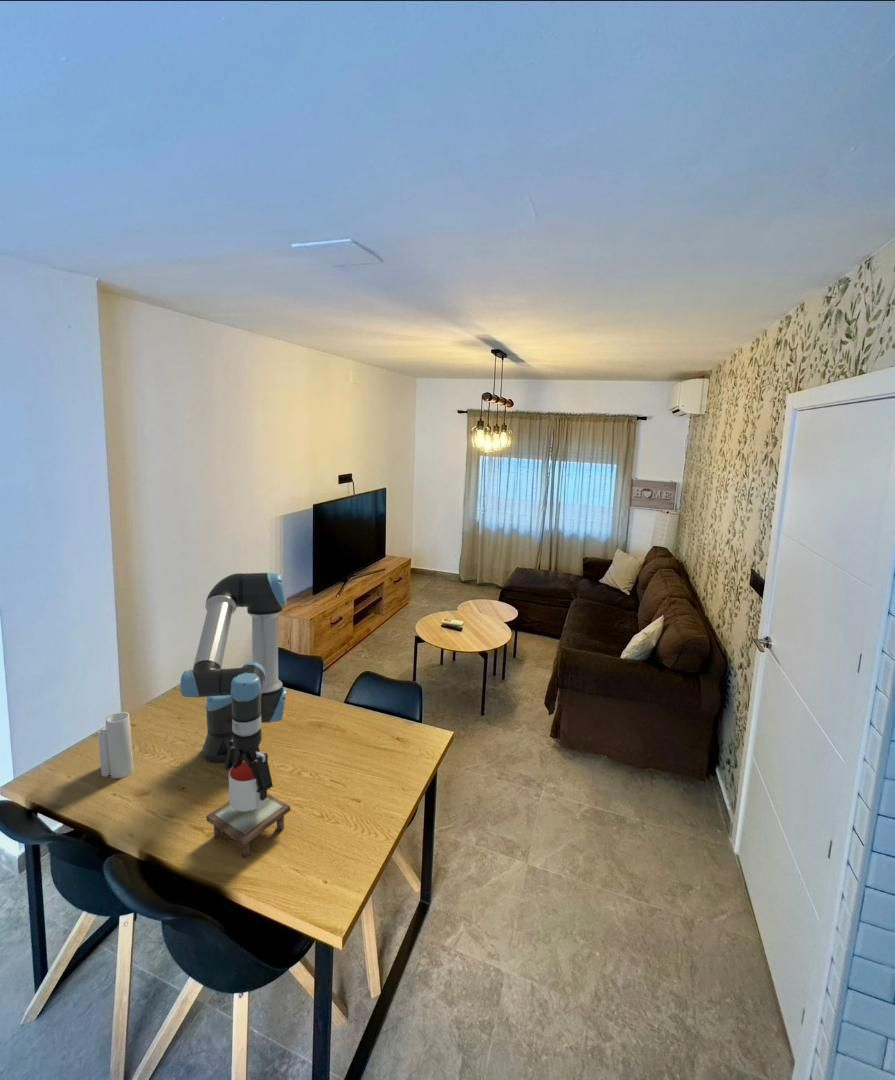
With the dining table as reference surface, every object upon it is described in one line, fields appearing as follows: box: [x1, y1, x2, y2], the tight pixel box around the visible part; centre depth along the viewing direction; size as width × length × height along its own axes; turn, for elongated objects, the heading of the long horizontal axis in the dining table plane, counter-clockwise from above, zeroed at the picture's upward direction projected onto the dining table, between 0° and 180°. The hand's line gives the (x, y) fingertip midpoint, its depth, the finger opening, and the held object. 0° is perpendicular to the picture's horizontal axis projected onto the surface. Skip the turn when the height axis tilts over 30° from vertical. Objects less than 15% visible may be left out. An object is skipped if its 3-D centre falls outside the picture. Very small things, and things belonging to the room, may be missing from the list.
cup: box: [228, 760, 258, 812], centre depth 149 cm, size 10×10×10 cm
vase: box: [97, 711, 134, 779], centre depth 173 cm, size 11×7×20 cm, turn 72°
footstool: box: [206, 792, 291, 859], centre depth 151 cm, size 16×16×7 cm
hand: (248, 800), depth 150 cm, fingers closed on cup, 10 cm apart
